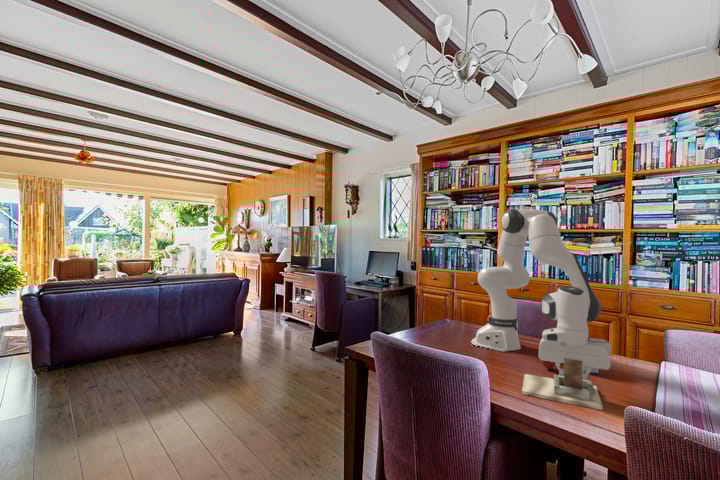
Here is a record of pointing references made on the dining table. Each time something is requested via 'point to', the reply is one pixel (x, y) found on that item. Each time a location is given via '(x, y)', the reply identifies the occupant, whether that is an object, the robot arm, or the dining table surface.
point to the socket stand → (561, 391)
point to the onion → (548, 364)
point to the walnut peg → (573, 374)
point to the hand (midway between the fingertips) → (572, 377)
